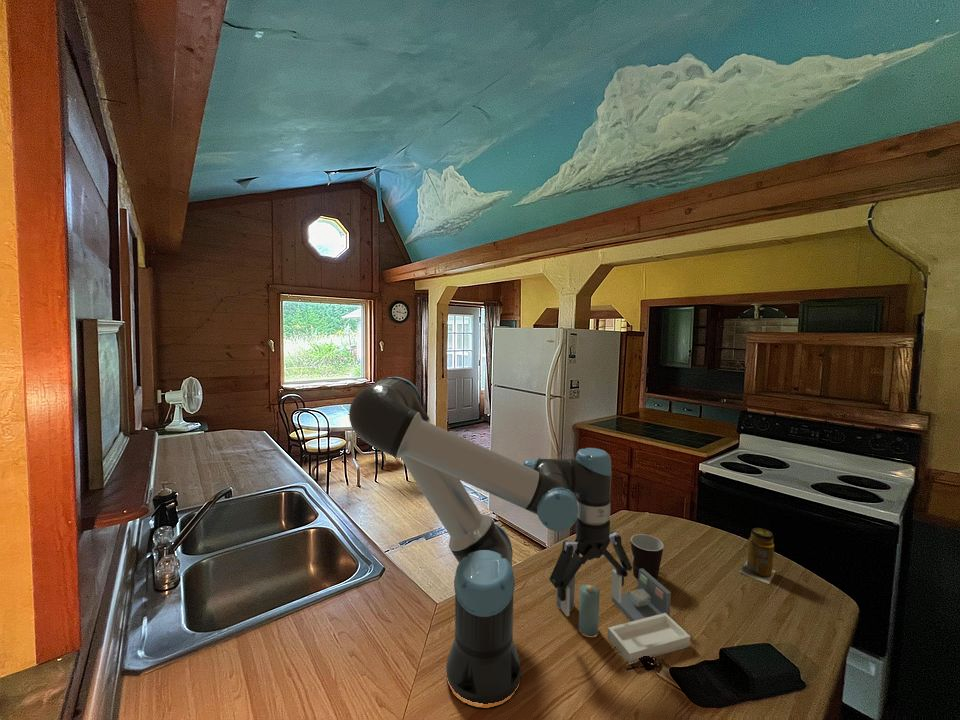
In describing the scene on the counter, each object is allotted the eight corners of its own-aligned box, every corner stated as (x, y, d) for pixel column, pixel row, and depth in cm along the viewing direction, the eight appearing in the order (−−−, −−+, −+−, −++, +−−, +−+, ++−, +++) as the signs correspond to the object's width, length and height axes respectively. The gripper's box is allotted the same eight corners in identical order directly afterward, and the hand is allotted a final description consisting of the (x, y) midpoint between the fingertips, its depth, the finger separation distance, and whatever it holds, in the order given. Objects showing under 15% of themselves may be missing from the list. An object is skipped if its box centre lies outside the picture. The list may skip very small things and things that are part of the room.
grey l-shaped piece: (638, 628, 97) (639, 600, 96) (612, 600, 106) (613, 574, 105) (669, 620, 99) (671, 592, 98) (641, 593, 109) (642, 568, 108)
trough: (629, 664, 87) (629, 653, 86) (607, 637, 94) (607, 627, 94) (689, 646, 91) (690, 636, 91) (664, 622, 99) (665, 612, 98)
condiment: (776, 571, 119) (779, 532, 118) (769, 584, 113) (772, 543, 112) (746, 560, 124) (750, 523, 123) (738, 572, 118) (741, 533, 117)
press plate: (638, 607, 100) (638, 599, 100) (630, 598, 103) (630, 591, 103) (650, 604, 101) (651, 596, 101) (641, 595, 104) (642, 588, 104)
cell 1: (561, 613, 101) (562, 572, 100) (553, 601, 106) (554, 561, 104) (577, 609, 103) (578, 569, 102) (568, 598, 107) (569, 559, 106)
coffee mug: (657, 589, 110) (659, 554, 109) (624, 577, 116) (626, 543, 115) (667, 568, 120) (669, 536, 119) (637, 558, 125) (639, 526, 124)
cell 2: (585, 639, 93) (586, 595, 92) (574, 625, 97) (576, 583, 96) (601, 635, 94) (603, 591, 93) (591, 621, 99) (592, 579, 98)
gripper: (550, 535, 86) (550, 629, 88) (650, 516, 93) (647, 604, 95) (535, 518, 93) (534, 606, 95) (628, 502, 100) (626, 584, 103)
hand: (591, 605), depth 95 cm, fingers open, 13 cm apart
